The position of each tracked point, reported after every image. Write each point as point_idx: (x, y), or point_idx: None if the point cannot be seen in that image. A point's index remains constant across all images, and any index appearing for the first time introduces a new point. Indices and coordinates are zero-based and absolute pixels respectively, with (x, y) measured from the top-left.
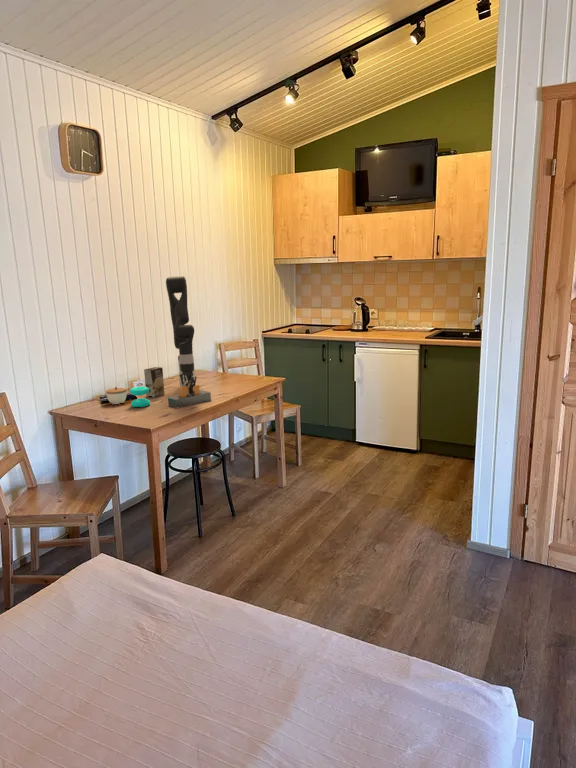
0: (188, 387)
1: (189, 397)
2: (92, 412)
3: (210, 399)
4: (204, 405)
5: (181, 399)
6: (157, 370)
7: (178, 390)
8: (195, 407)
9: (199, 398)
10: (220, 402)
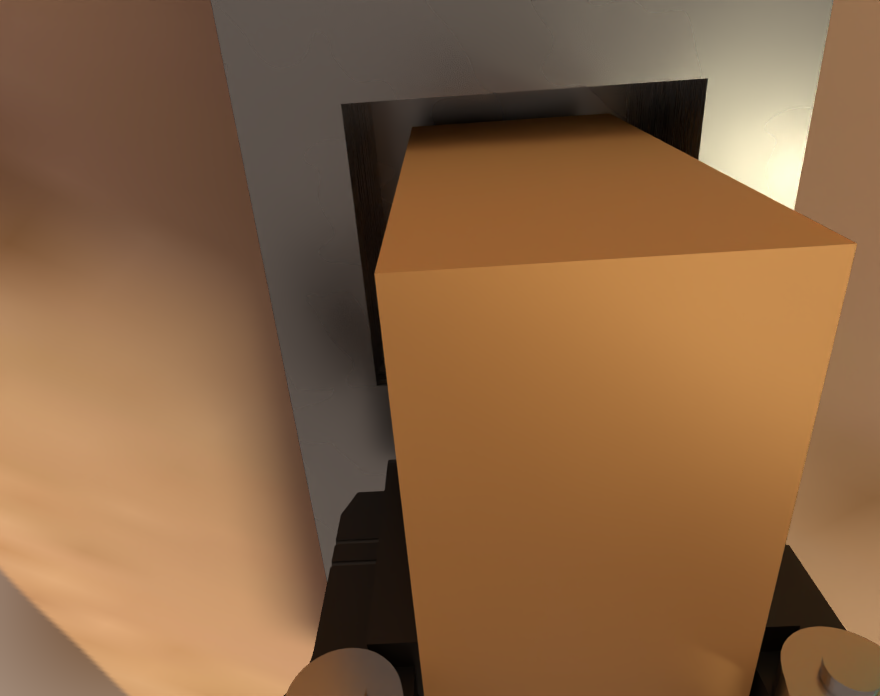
0: (424, 639)
1: (288, 346)
2: None
3: None
4: (82, 442)
5: (225, 21)
6: None
7: (726, 192)
8: (7, 239)
9: None
10: (135, 679)
